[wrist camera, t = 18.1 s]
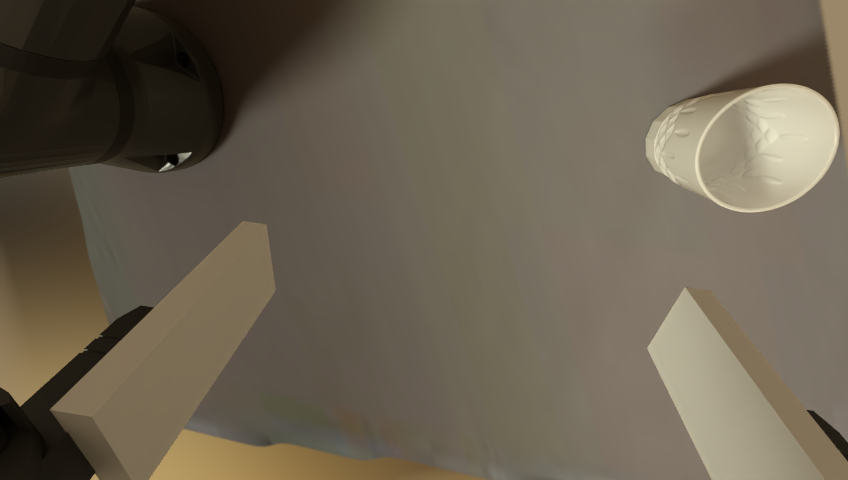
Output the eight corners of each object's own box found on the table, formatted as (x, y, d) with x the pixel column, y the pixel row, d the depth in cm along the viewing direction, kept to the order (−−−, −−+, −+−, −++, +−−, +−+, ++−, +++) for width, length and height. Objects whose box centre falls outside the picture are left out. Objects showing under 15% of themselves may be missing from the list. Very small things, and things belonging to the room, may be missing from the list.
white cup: (661, 81, 32) (734, 68, 23) (756, 104, 32) (870, 102, 22) (622, 172, 35) (673, 194, 26) (709, 195, 35) (793, 226, 25)
